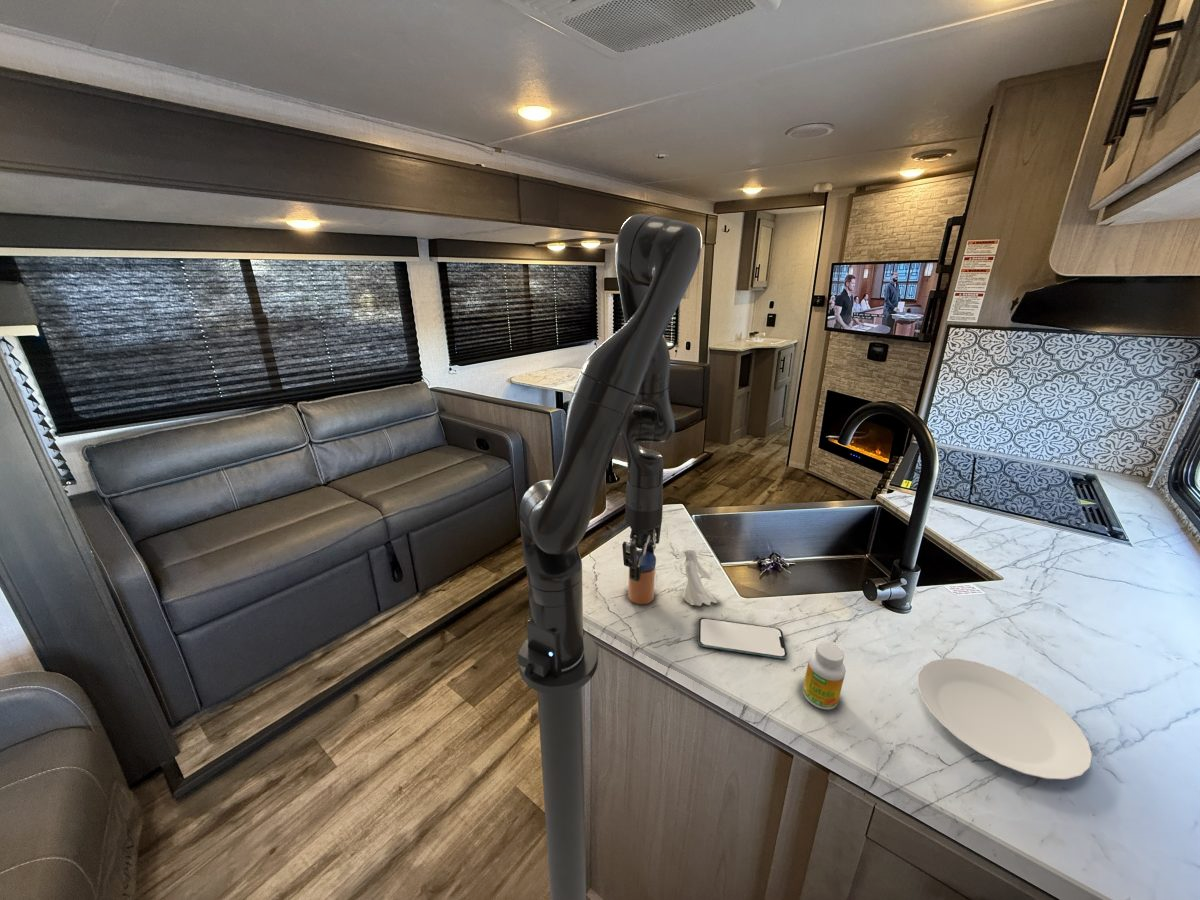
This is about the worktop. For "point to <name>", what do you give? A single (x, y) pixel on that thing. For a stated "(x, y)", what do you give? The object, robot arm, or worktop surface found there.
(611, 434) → the robot arm
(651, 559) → the jar lid
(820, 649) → the supplement bottle
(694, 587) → the figurine
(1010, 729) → the plate
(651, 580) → the jar
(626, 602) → the worktop surface
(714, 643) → the smartphone
